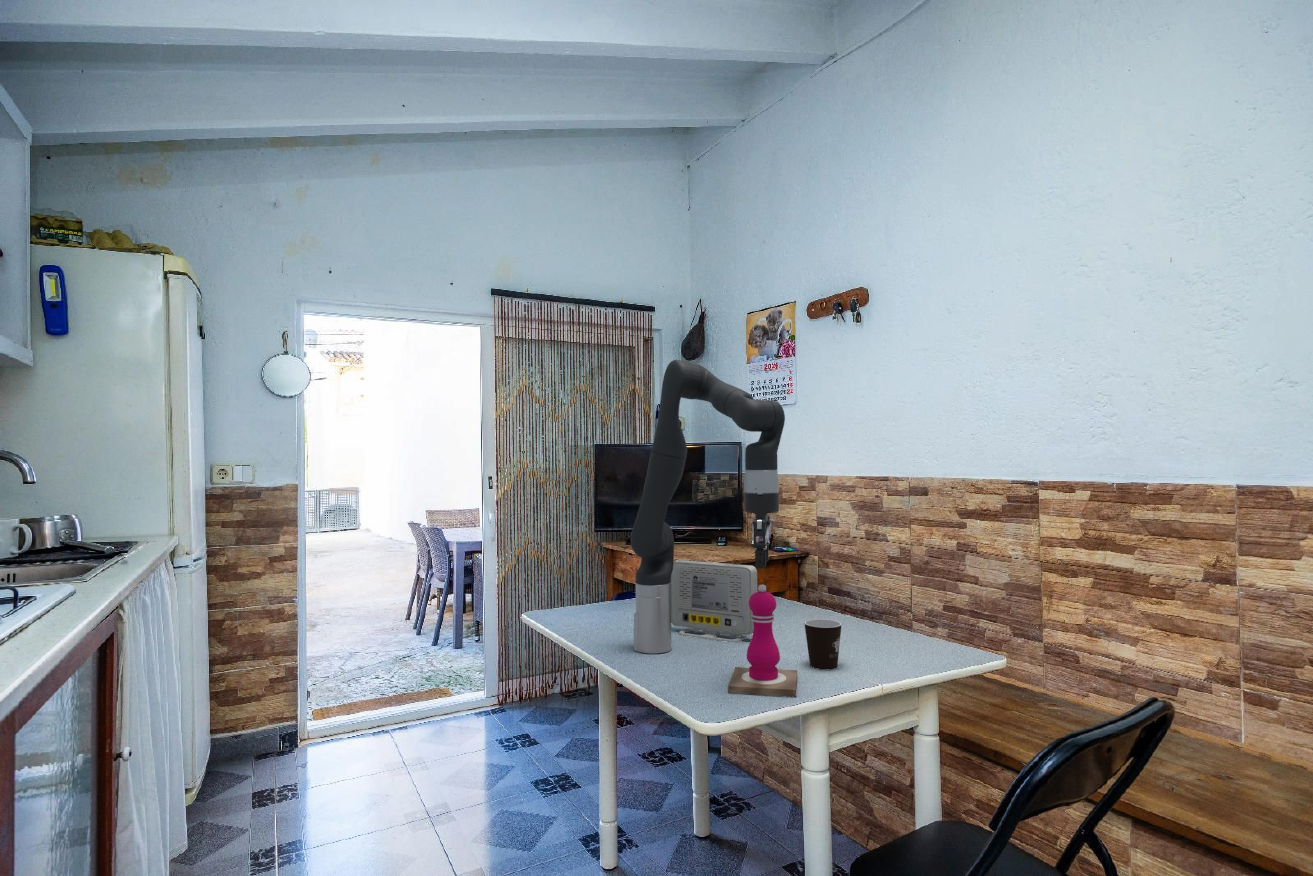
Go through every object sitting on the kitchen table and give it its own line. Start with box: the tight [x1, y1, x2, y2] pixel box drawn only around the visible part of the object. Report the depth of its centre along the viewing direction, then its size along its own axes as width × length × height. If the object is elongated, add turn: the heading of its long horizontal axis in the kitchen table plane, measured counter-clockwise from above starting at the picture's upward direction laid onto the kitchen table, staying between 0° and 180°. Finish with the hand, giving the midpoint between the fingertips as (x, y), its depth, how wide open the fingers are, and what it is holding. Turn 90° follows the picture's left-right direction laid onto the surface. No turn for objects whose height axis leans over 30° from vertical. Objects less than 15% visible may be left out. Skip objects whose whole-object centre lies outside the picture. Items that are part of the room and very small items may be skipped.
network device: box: [671, 559, 758, 643], centre depth 200 cm, size 26×9×20 cm, turn 58°
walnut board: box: [727, 666, 798, 698], centre depth 156 cm, size 14×14×2 cm
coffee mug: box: [804, 618, 843, 670], centre depth 171 cm, size 12×9×10 cm
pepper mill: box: [746, 584, 781, 681], centre depth 157 cm, size 7×7×20 cm
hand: (762, 564), depth 157 cm, fingers open, 8 cm apart
